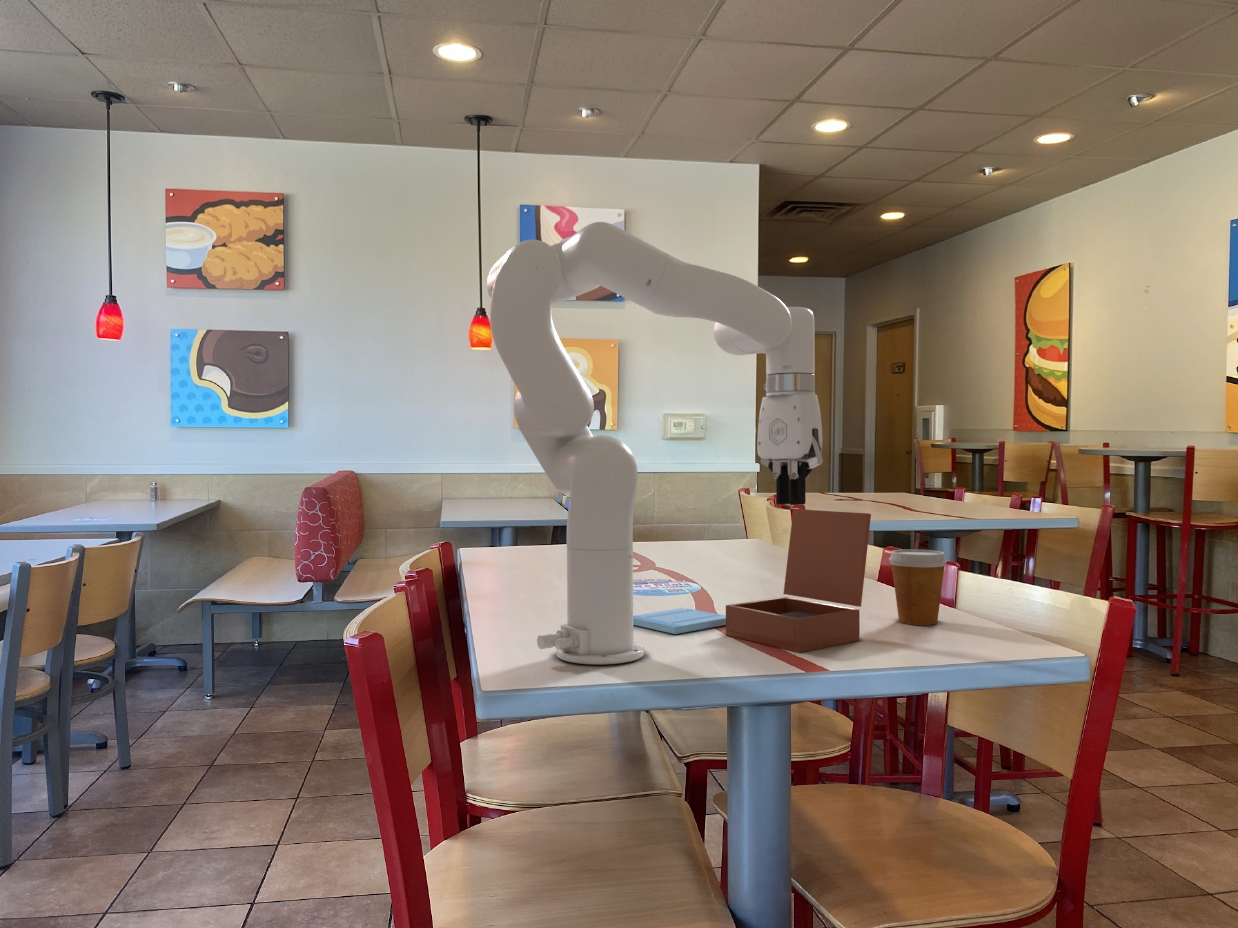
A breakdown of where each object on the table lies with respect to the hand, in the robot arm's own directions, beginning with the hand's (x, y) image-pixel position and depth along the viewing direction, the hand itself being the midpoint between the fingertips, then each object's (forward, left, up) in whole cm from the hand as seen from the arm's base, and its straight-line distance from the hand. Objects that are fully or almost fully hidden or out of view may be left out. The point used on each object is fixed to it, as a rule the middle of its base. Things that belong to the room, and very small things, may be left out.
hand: (790, 503), depth 135 cm
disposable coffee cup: (+27, -4, -21) cm, 35 cm away
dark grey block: (0, 0, -20) cm, 20 cm away
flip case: (0, 0, -21) cm, 21 cm away
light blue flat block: (-7, +19, -21) cm, 29 cm away
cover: (+8, 0, -9) cm, 12 cm away
